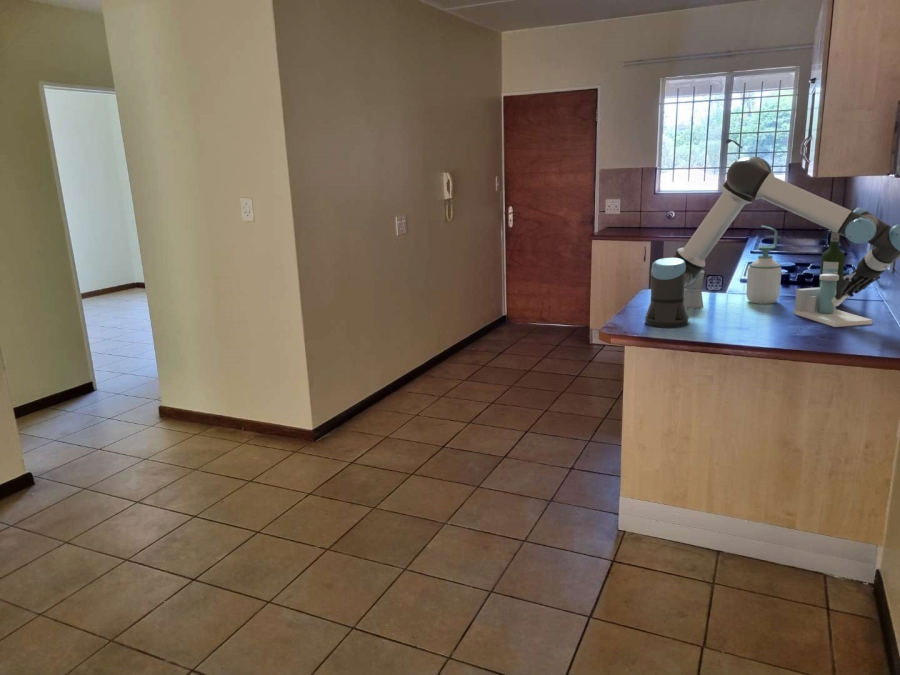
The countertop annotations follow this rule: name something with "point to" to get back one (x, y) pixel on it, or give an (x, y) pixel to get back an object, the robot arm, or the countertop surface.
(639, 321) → the countertop surface
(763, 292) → the soap bottle
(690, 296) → the coffee maker
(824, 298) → the teal jar
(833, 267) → the wine bottle
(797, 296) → the mount
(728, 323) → the countertop surface
